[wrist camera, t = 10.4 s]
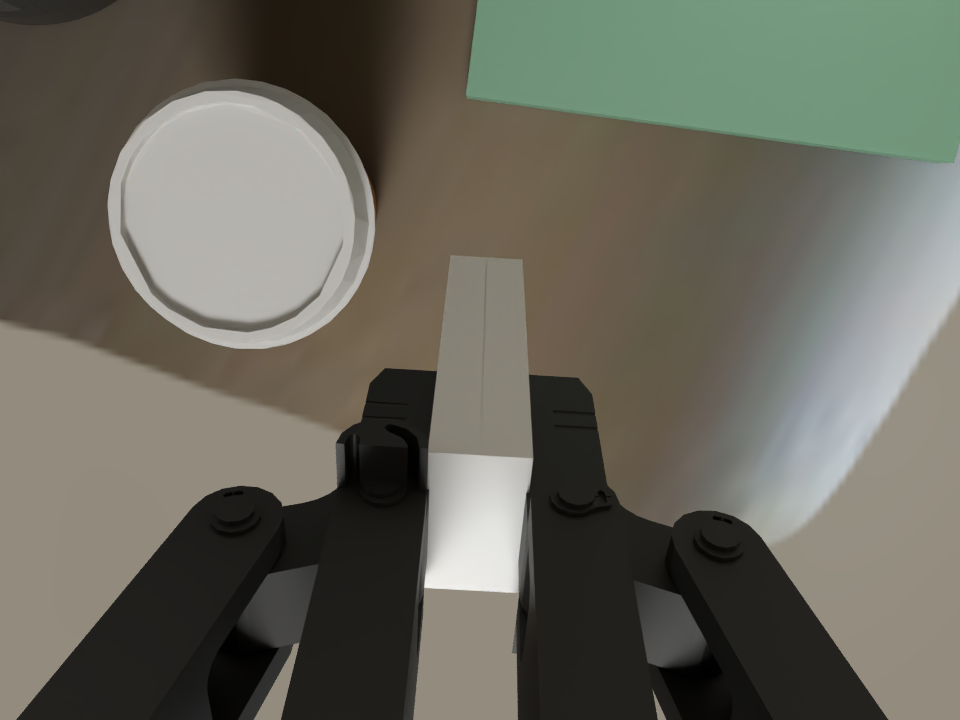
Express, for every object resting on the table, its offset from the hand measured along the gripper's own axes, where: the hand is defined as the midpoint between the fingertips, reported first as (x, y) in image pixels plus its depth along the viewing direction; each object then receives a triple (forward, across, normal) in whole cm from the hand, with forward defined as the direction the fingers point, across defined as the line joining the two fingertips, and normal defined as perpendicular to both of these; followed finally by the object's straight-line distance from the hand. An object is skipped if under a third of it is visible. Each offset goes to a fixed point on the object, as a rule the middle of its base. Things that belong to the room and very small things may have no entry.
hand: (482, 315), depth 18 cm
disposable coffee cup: (+23, -8, -7) cm, 25 cm away
